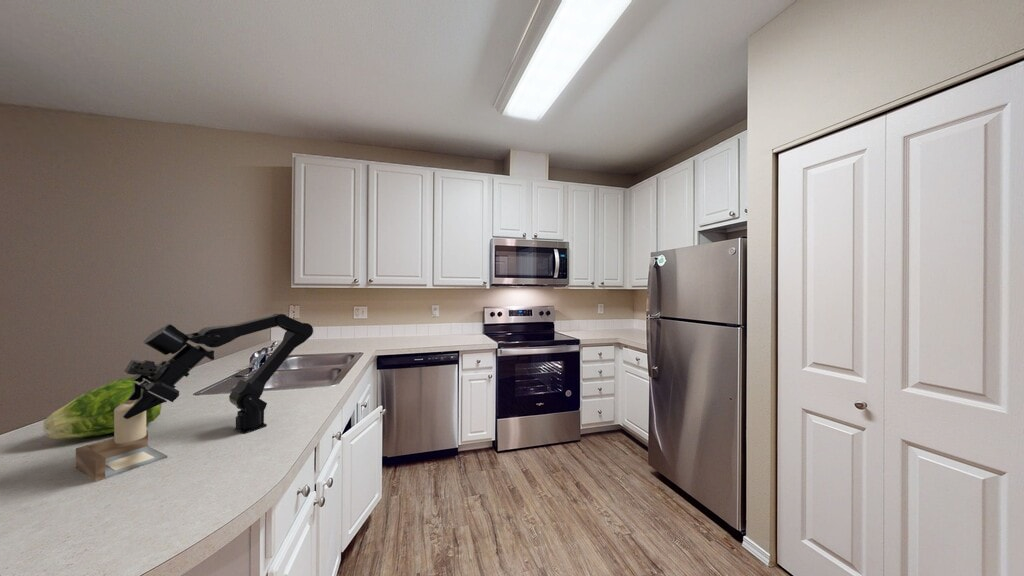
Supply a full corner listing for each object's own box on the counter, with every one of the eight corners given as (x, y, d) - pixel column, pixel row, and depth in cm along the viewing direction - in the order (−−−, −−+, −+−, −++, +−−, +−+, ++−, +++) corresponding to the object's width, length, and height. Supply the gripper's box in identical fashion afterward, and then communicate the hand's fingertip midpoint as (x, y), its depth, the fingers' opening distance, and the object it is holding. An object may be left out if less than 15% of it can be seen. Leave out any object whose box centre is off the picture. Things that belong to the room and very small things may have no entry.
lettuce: (55, 464, 97) (46, 415, 102) (168, 425, 115) (156, 385, 120) (38, 443, 87) (30, 391, 92) (164, 404, 105) (151, 362, 110)
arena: (145, 446, 96) (145, 429, 96) (167, 457, 90) (167, 439, 90) (75, 467, 84) (75, 448, 84) (95, 481, 79) (95, 460, 79)
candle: (117, 446, 83) (117, 406, 83) (111, 440, 86) (111, 402, 85) (149, 437, 88) (148, 399, 87) (142, 432, 90) (142, 396, 90)
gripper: (143, 344, 95) (80, 393, 85) (161, 351, 85) (92, 408, 75) (181, 365, 101) (127, 413, 92) (202, 375, 91) (144, 429, 82)
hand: (122, 415), depth 85 cm, fingers closed on candle, 5 cm apart
